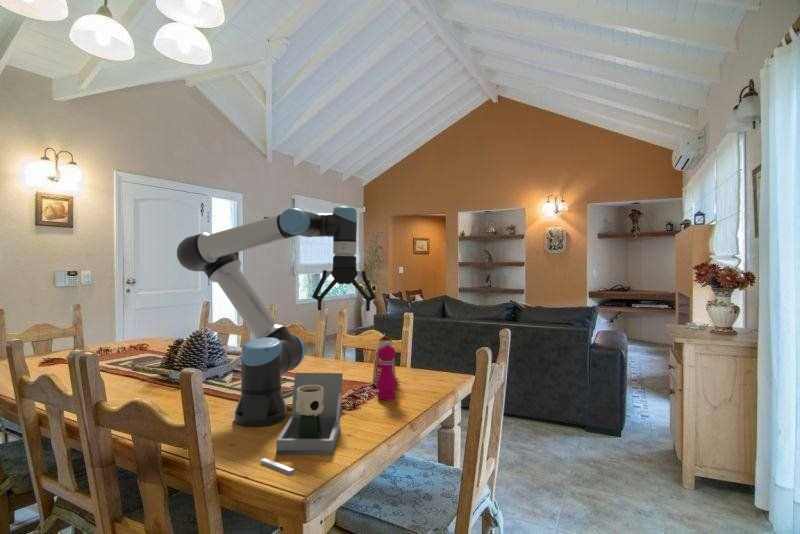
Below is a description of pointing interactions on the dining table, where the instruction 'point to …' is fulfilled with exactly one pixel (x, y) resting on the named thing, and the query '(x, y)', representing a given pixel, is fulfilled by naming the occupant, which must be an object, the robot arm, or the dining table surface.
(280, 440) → the case
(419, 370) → the dining table surface
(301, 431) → the character mug
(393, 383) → the pepper mill
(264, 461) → the rod
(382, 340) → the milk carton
